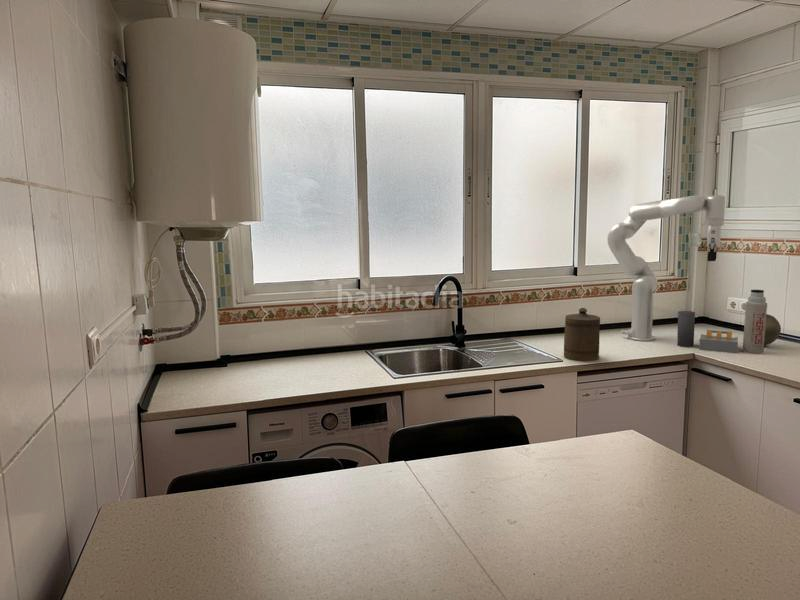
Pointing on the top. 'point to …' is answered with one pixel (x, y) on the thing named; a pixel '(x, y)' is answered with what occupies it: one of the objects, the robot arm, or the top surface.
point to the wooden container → (581, 336)
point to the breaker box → (718, 343)
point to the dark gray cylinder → (686, 328)
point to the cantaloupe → (771, 329)
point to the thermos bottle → (755, 323)
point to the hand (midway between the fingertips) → (711, 260)
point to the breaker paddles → (719, 333)
